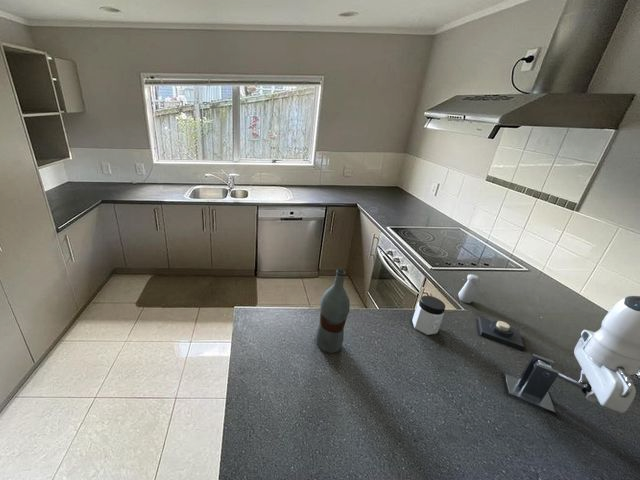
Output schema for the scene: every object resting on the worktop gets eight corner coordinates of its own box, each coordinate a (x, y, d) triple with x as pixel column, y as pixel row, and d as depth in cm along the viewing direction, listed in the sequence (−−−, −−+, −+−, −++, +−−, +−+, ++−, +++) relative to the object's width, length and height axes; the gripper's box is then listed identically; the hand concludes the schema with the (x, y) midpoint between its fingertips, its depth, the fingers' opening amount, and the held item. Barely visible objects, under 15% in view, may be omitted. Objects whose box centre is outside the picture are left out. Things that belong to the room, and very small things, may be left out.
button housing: (516, 334, 106) (520, 325, 105) (521, 351, 99) (526, 342, 97) (477, 321, 112) (481, 313, 111) (479, 336, 104) (483, 328, 103)
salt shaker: (458, 302, 123) (468, 277, 118) (455, 295, 128) (464, 271, 123) (474, 306, 121) (484, 281, 116) (470, 298, 126) (480, 274, 121)
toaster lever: (591, 393, 76) (599, 385, 75) (595, 402, 74) (604, 395, 72) (532, 364, 82) (538, 357, 80) (534, 372, 79) (541, 365, 78)
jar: (422, 336, 103) (431, 310, 99) (406, 321, 111) (414, 296, 106) (442, 333, 105) (452, 307, 101) (425, 318, 112) (434, 294, 108)
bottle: (309, 344, 98) (320, 270, 87) (322, 330, 104) (334, 260, 93) (333, 359, 92) (348, 283, 81) (346, 344, 98) (361, 271, 87)
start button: (507, 327, 105) (509, 323, 104) (508, 332, 102) (510, 329, 101) (495, 323, 106) (496, 319, 106) (496, 328, 104) (498, 325, 103)
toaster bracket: (546, 393, 84) (565, 361, 79) (553, 415, 78) (575, 383, 73) (503, 376, 89) (519, 345, 84) (507, 395, 82) (525, 364, 78)
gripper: (656, 393, 60) (621, 434, 66) (613, 335, 76) (588, 371, 82) (613, 378, 63) (583, 418, 69) (580, 326, 79) (558, 361, 85)
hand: (586, 392), depth 75 cm, fingers closed on toaster lever, 3 cm apart
